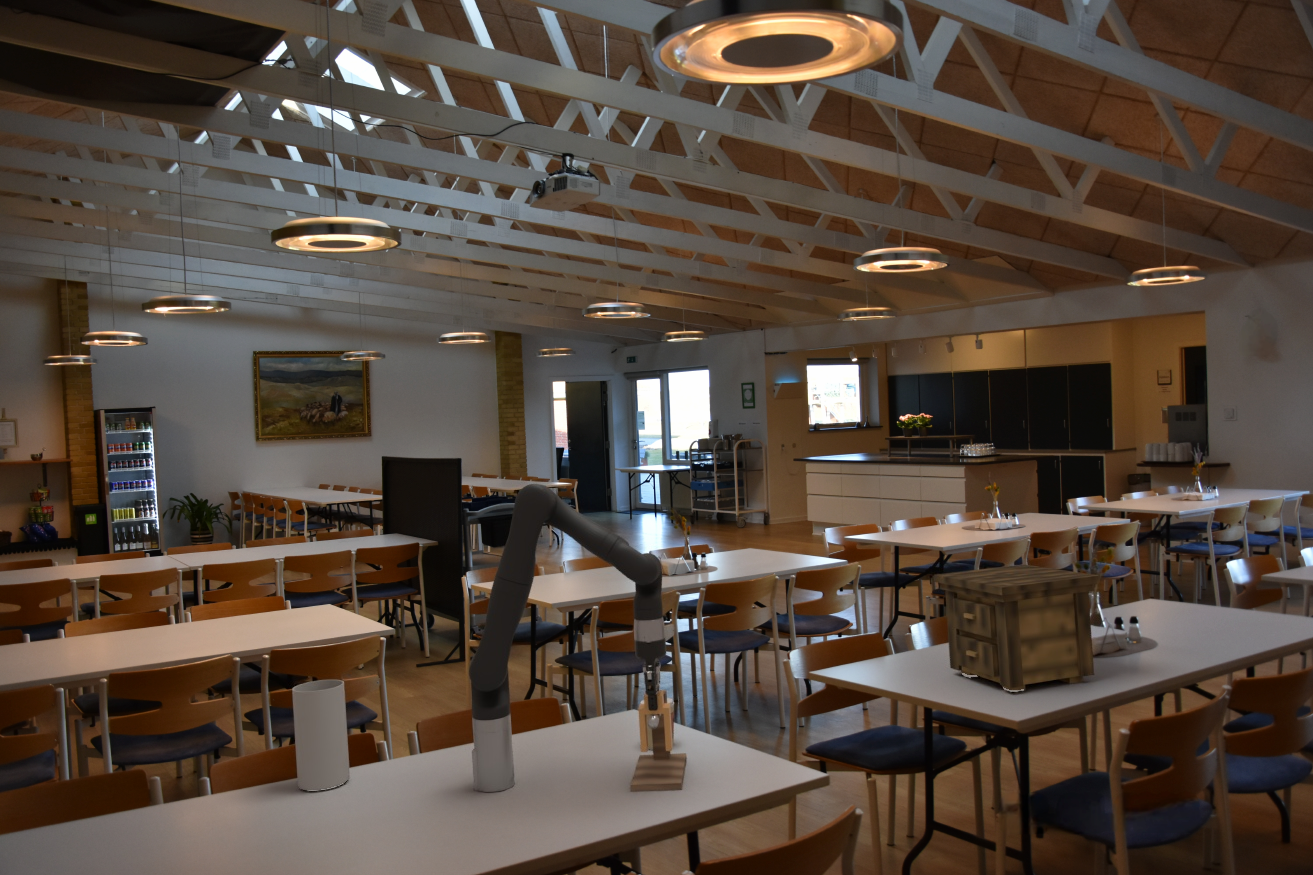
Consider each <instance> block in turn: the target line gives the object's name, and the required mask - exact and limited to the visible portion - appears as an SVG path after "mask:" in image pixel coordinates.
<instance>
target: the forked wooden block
mask: <svg viewBox="0 0 1313 875" xmlns="http://www.w3.org/2000/svg"><path fill="white" fill-rule="evenodd" d="M643 700H644V704H640V703H639V705H640V706H639V705H638V723H639V724H638V725H639V726H638V727H639V739H640V740H639V741H640V753H646V752H648V750H649V749H648V734H647V718H646V714H664V729H665V745H666V751H670V752H672V751H673V747H674V745H673V742H672V726H671V710H670V703H664V696H663V691H658V693H657V701H658V709H657V710H656V711H650V710H649V708H648V695H647V694H646V693H645V692H644V695H643Z"/></svg>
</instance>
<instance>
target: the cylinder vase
mask: <svg viewBox="0 0 1313 875" xmlns="http://www.w3.org/2000/svg"><path fill="white" fill-rule="evenodd" d="M291 691H292V693H291V694H292V708H293V709H292V710H293V726H294V728H293V729H294V740H295V742H294V744H295V757H296V758H295V759H296V760H295V761H296V773H297V775H296V776H297V787H298V788H299V789H300V790H301V789H303V790H321V789H327V788H331V787H334V786H338V785H340V784H342V783H345V782H346V781H347V780H348V781H349V780H350V778H351V777H350V773H351V772H350V760H349V758H350V757H349V744H348V743H349V742H348V741H349V740H348V726H347V725H348V724H347V712H346V711H347V710H346V709H347V708H346V707H347V706H346V692H345V681H344V680H340V679H321V680H314V681H308V682H304V683H301V684H297V685H296V686H294V687H292V689H291ZM348 781H347V782H348ZM347 782H346V783H347ZM346 783H345V784H346ZM303 790H302V791H303Z"/></svg>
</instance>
